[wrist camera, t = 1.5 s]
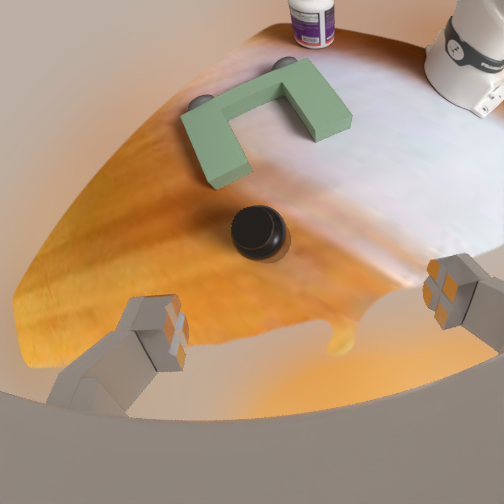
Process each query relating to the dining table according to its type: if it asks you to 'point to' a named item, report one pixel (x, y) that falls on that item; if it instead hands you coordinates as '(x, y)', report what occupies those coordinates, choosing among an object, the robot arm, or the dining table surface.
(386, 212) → the dining table surface
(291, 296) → the dining table surface
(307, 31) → the pill bottle
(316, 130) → the green u-shaped block
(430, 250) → the dining table surface
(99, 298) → the dining table surface
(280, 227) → the supplement bottle
